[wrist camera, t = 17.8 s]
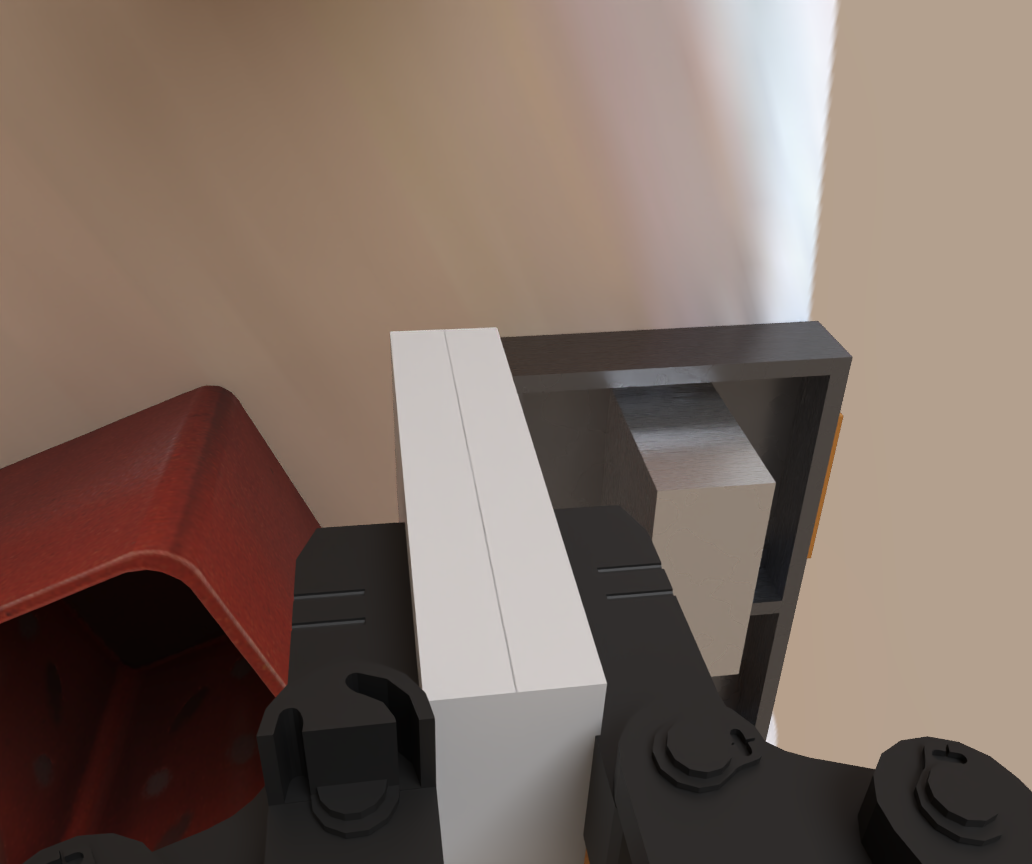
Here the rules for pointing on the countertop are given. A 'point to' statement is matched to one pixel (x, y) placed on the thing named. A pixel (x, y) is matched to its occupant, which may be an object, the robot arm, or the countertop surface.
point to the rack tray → (756, 408)
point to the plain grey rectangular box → (693, 504)
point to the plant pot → (142, 624)
